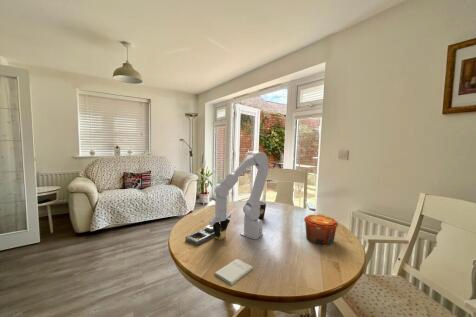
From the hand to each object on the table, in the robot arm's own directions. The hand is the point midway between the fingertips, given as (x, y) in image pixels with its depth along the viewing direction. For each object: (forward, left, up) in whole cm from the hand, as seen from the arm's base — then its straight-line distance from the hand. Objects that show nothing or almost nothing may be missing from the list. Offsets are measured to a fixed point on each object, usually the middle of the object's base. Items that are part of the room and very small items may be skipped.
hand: (220, 235), depth 104 cm
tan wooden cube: (0, 0, -1) cm, 1 cm away
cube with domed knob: (+7, 0, -2) cm, 7 cm away
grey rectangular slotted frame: (+7, +4, -1) cm, 8 cm away
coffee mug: (0, -37, -2) cm, 37 cm away
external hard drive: (-22, +18, -2) cm, 29 cm away
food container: (-41, -30, -2) cm, 51 cm away
